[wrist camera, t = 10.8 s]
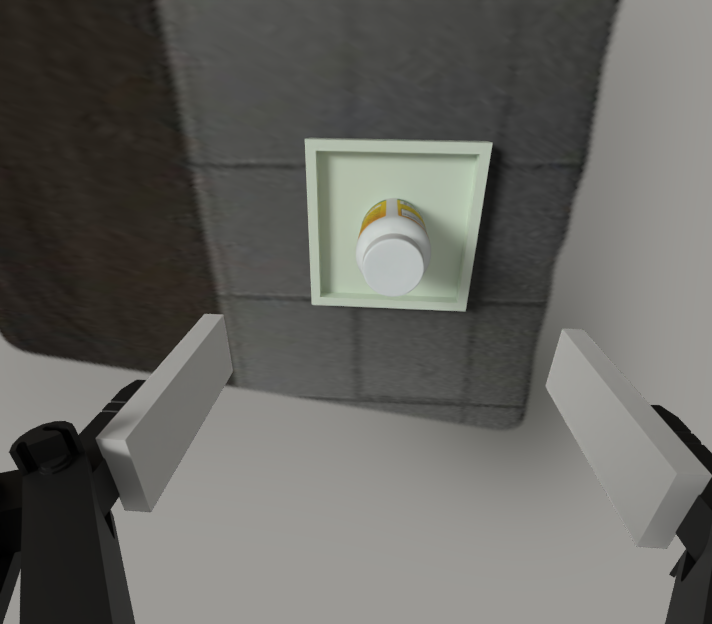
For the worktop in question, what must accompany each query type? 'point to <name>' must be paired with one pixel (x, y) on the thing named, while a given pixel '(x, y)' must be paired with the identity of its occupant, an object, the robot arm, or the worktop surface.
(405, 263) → the supplement bottle
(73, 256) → the worktop surface
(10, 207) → the worktop surface
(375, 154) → the tray
